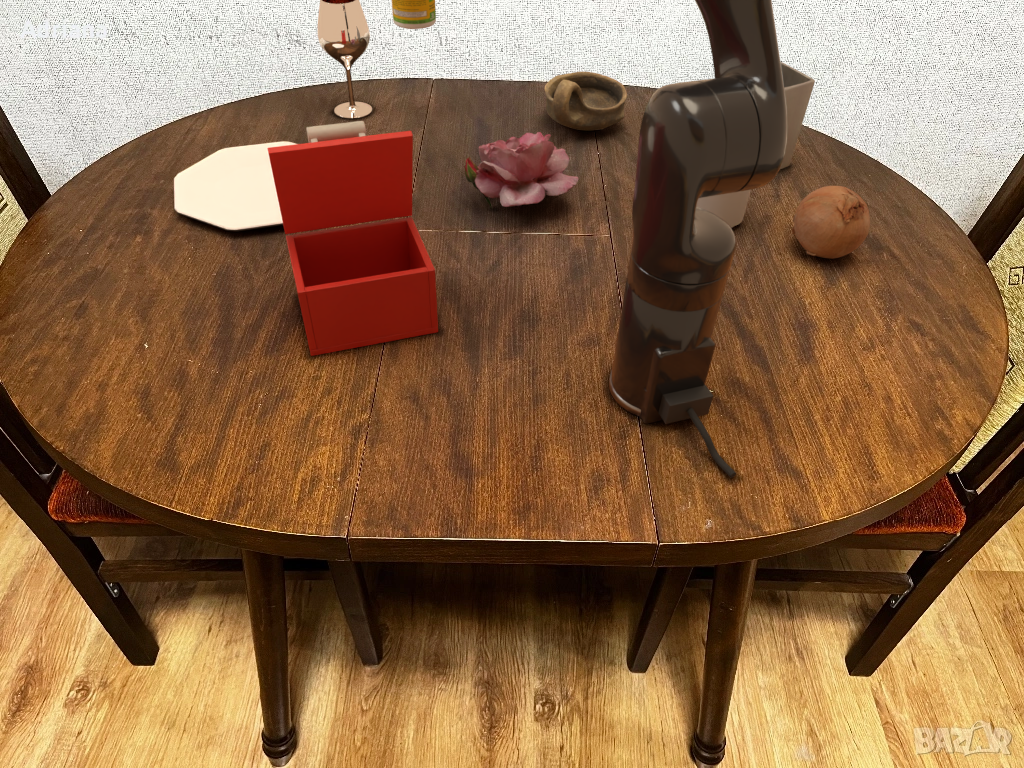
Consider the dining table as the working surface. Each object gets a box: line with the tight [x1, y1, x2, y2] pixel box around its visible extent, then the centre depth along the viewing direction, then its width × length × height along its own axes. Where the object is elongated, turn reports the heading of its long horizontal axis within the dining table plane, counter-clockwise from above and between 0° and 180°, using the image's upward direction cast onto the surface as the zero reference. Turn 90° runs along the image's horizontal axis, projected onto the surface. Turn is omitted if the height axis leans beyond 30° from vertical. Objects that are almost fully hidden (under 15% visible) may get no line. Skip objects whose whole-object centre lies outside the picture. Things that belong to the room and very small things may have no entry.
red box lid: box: [267, 120, 414, 235], centre depth 84 cm, size 12×15×5 cm
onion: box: [791, 185, 871, 259], centre depth 100 cm, size 10×9×10 cm
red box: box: [285, 216, 439, 357], centre depth 87 cm, size 11×15×9 cm
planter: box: [780, 60, 816, 170], centre depth 114 cm, size 16×8×19 cm, turn 164°
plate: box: [173, 140, 297, 232], centre depth 110 cm, size 24×24×2 cm
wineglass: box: [316, 0, 373, 120], centre depth 124 cm, size 8×8×18 cm
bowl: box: [544, 70, 628, 132], centre depth 124 cm, size 14×18×10 cm
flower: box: [463, 131, 579, 210], centre depth 107 cm, size 15×15×10 cm
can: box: [696, 190, 752, 229], centre depth 104 cm, size 8×8×12 cm
